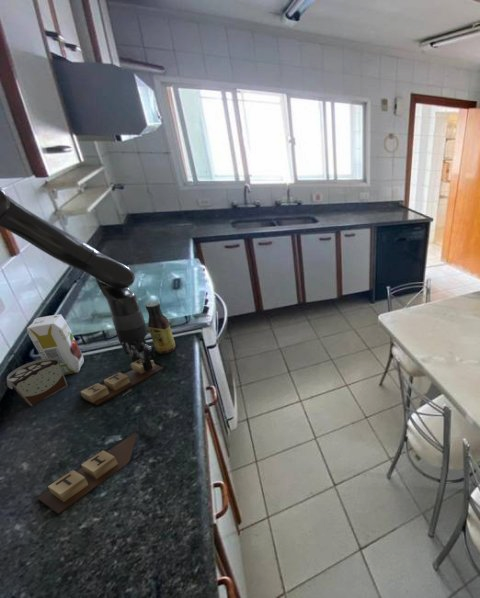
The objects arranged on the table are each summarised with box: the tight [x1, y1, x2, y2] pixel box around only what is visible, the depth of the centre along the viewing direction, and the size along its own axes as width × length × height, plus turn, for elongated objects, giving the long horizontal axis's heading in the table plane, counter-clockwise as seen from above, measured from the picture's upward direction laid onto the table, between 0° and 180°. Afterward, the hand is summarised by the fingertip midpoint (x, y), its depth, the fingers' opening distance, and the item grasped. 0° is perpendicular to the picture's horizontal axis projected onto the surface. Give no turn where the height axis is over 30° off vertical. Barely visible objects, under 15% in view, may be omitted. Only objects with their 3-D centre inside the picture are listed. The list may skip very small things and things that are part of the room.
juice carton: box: [26, 313, 85, 376], centre depth 106 cm, size 8×9×19 cm
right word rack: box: [80, 363, 165, 407], centre depth 106 cm, size 20×8×3 cm, turn 158°
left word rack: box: [36, 432, 138, 516], centre depth 78 cm, size 20×8×3 cm, turn 158°
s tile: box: [130, 359, 156, 374], centre depth 110 cm, size 4×4×3 cm
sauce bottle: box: [145, 301, 177, 355], centre depth 119 cm, size 7×6×20 cm
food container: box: [6, 358, 69, 407], centre depth 97 cm, size 12×6×10 cm, turn 168°
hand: (143, 367), depth 111 cm, fingers closed on s tile, 4 cm apart
